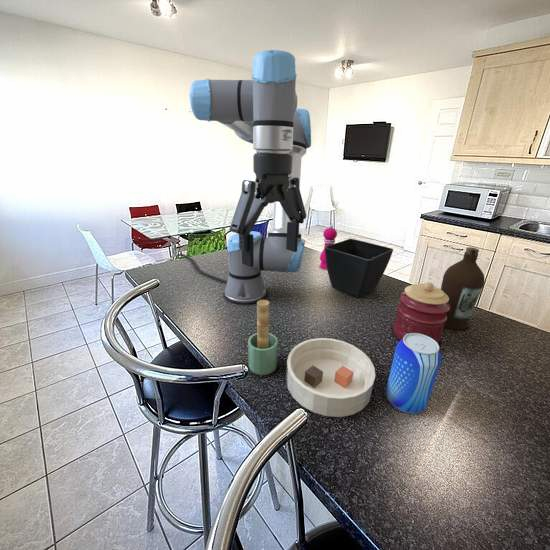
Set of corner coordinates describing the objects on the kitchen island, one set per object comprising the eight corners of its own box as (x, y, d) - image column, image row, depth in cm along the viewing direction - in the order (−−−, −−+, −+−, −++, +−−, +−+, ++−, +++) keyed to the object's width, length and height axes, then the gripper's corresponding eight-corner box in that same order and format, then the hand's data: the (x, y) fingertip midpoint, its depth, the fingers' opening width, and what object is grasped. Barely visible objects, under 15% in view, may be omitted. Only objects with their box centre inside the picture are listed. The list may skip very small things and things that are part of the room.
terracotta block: (334, 381, 69) (335, 371, 67) (341, 375, 71) (342, 365, 69) (345, 388, 67) (346, 378, 65) (352, 381, 69) (353, 371, 67)
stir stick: (255, 364, 74) (254, 302, 66) (263, 359, 75) (263, 298, 68) (262, 370, 72) (262, 306, 64) (270, 364, 74) (271, 302, 66)
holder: (242, 366, 74) (241, 340, 71) (263, 353, 79) (263, 328, 75) (262, 381, 69) (262, 354, 66) (282, 366, 74) (283, 341, 71)
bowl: (268, 383, 69) (269, 363, 66) (319, 346, 82) (321, 328, 79) (339, 438, 56) (343, 415, 54) (386, 384, 69) (390, 364, 67)
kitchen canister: (419, 354, 79) (435, 297, 72) (383, 329, 90) (393, 277, 83) (449, 341, 85) (466, 287, 78) (411, 319, 95) (424, 270, 88)
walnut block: (304, 381, 69) (304, 371, 67) (312, 374, 70) (312, 365, 69) (314, 388, 67) (315, 378, 65) (322, 381, 69) (323, 371, 67)
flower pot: (346, 274, 129) (350, 237, 122) (386, 288, 116) (394, 248, 109) (319, 287, 116) (323, 246, 109) (362, 304, 104) (369, 260, 97)
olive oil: (424, 314, 98) (443, 244, 88) (451, 311, 101) (472, 242, 90) (448, 333, 89) (472, 256, 79) (477, 329, 91) (504, 254, 81)
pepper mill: (334, 270, 132) (339, 227, 124) (318, 269, 133) (322, 226, 125) (334, 264, 138) (339, 223, 130) (319, 263, 139) (323, 222, 131)
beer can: (378, 388, 68) (391, 331, 62) (413, 386, 69) (429, 329, 62) (395, 418, 60) (411, 357, 54) (433, 416, 61) (454, 355, 55)
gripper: (233, 152, 45) (237, 278, 53) (327, 153, 61) (318, 248, 70) (206, 151, 50) (213, 266, 58) (299, 152, 66) (295, 242, 75)
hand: (271, 257), depth 64 cm, fingers open, 13 cm apart
